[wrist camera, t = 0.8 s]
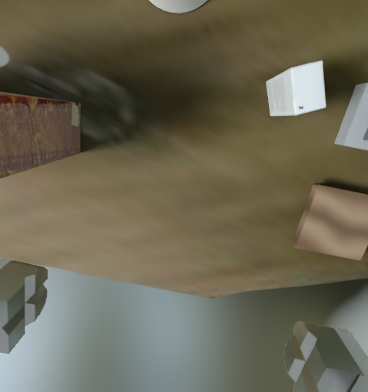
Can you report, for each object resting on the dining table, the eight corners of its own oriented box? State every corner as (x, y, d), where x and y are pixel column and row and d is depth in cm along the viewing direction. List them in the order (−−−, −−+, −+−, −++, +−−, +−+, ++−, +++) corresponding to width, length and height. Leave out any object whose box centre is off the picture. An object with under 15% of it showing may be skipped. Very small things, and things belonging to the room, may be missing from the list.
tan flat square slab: (312, 181, 48) (319, 185, 45) (378, 194, 48) (389, 199, 45) (290, 240, 52) (295, 247, 49) (351, 252, 52) (360, 260, 49)
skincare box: (294, 110, 45) (327, 109, 33) (269, 116, 45) (294, 116, 34) (290, 73, 43) (323, 59, 32) (265, 80, 43) (289, 68, 32)
